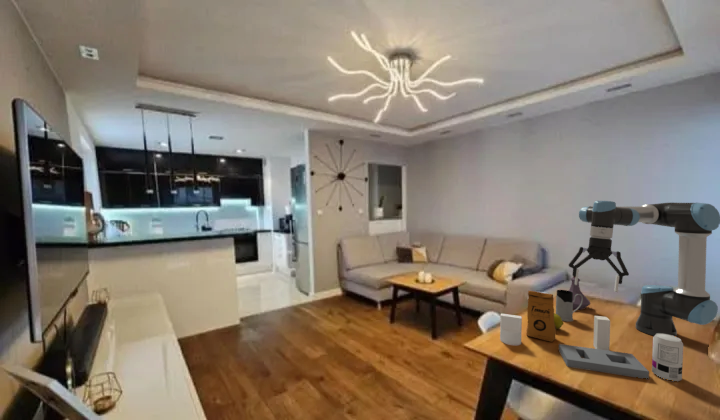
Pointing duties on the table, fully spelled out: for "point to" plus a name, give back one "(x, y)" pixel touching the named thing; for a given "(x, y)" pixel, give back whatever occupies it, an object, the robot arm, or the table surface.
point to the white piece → (510, 329)
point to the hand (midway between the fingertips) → (595, 287)
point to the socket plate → (602, 361)
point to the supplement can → (667, 356)
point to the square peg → (601, 333)
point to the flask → (578, 299)
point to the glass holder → (565, 304)
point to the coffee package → (541, 316)
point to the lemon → (558, 321)
